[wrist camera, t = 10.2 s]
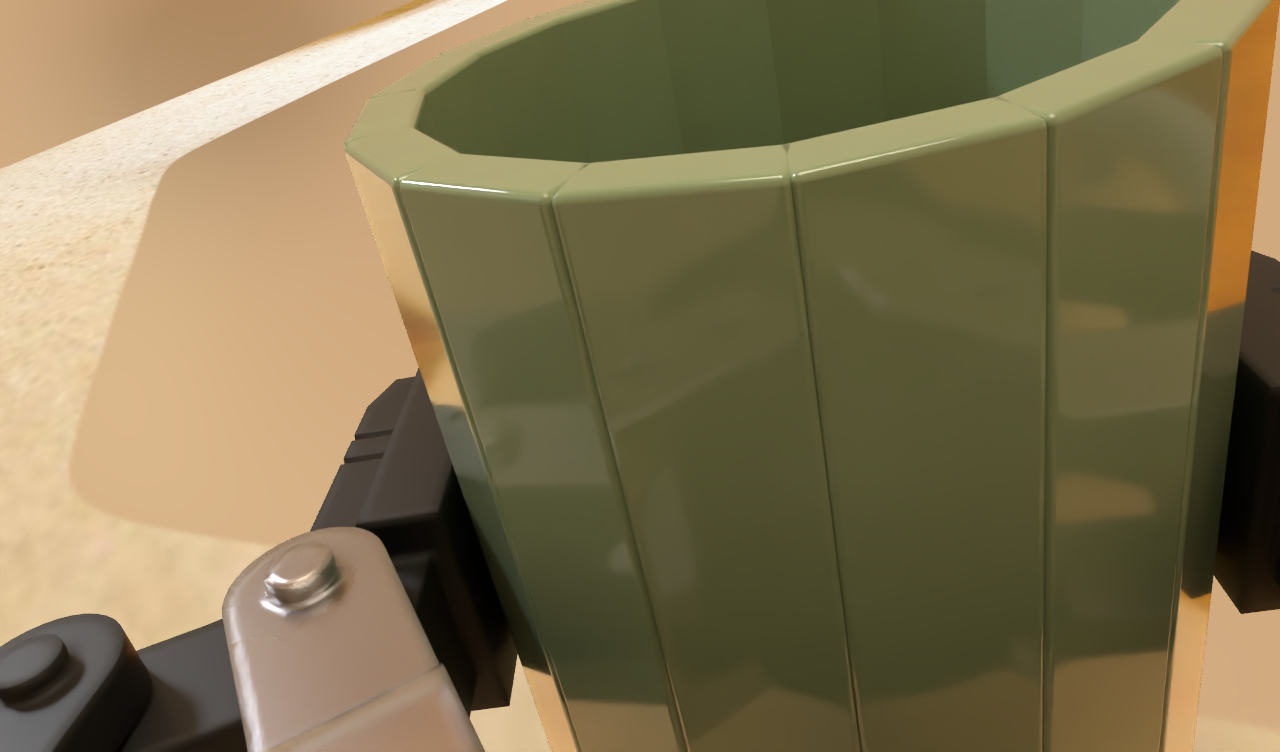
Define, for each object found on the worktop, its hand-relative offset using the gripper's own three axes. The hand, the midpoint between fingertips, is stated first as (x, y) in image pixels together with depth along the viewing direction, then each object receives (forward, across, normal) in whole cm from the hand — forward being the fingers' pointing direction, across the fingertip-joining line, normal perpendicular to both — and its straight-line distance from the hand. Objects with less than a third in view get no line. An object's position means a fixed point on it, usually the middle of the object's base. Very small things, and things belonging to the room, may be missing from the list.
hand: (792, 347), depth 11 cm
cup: (-2, 0, +6) cm, 6 cm away
